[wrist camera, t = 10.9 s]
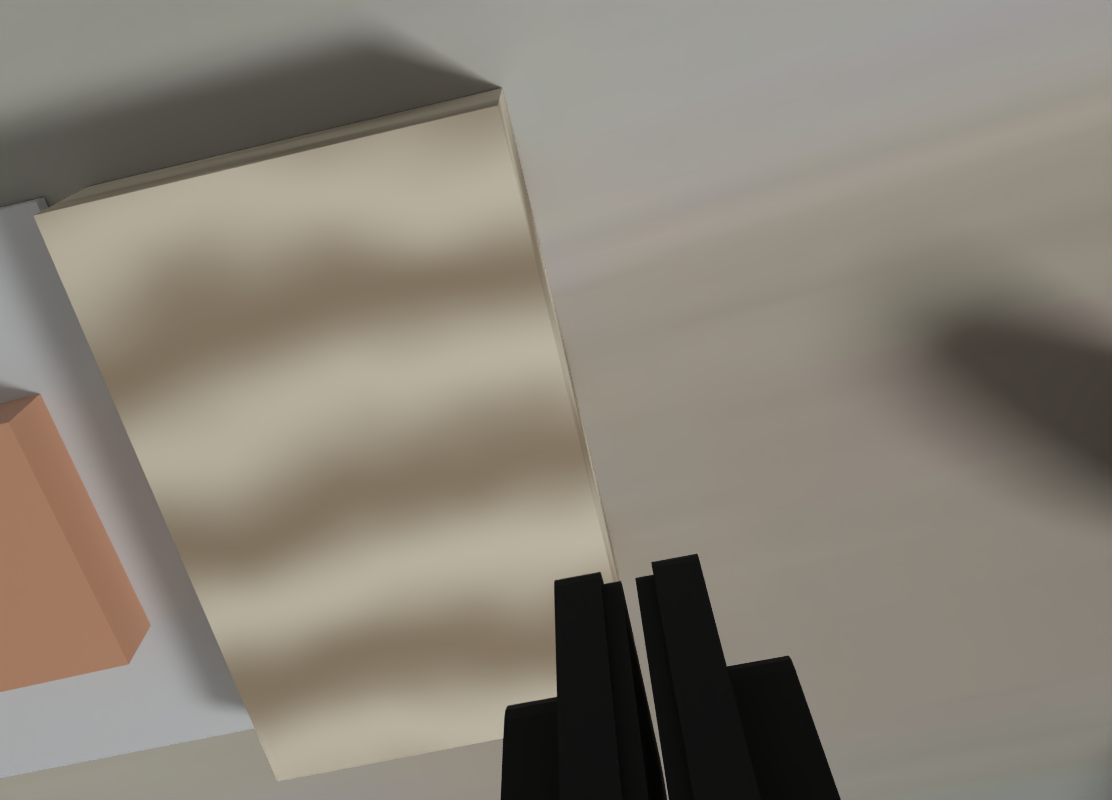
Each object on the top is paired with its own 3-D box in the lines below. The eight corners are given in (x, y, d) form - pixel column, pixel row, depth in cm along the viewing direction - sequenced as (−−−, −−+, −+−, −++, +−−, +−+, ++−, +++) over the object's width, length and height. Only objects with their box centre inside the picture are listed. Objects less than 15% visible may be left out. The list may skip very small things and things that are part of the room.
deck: (86, 186, 34) (33, 215, 31) (502, 88, 33) (497, 105, 30) (299, 710, 43) (277, 781, 39) (635, 644, 42) (644, 710, 38)
